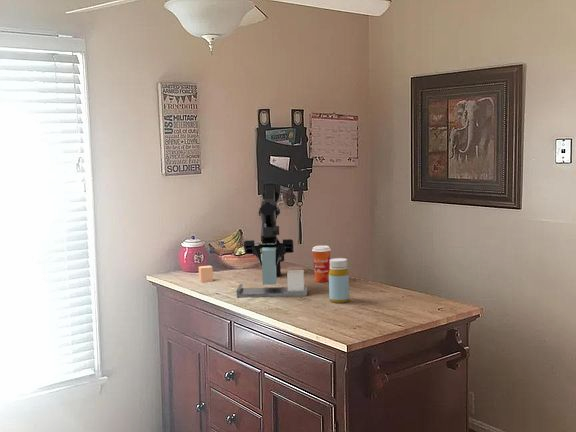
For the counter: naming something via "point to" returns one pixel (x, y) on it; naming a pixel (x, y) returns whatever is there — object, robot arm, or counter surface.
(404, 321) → the counter surface
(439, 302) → the counter surface
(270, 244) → the robot arm
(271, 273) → the block
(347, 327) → the counter surface
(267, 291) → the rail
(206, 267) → the block
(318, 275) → the paper cup
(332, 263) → the bottle
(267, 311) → the counter surface
